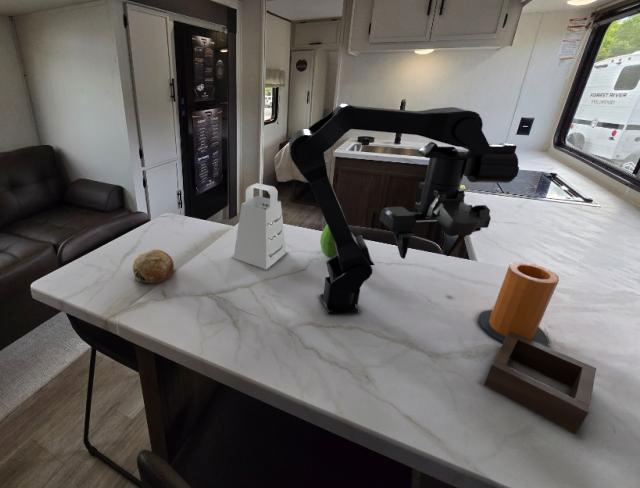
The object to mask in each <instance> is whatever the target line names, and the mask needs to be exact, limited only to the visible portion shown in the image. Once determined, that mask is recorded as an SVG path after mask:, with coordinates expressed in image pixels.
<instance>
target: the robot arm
mask: <svg viewBox="0 0 640 488" xmlns="http://www.w3.org/2000/svg"><path fill="white" fill-rule="evenodd" d="M483 126H484V123H483V119H482V117H481V115H480V114H479V113H478V112H476V111H474V110H468V109H464V108H461V107H460V108H459V107H455V106H448V107H438V108H430V109H425V110H408V109H407V110H406V109H396V108H395V109H394V108H384V107H372V106H362V105H361V106H360V105H351V104H350V103H341V104H338V105H337V106H336V107H335V108H334V109H333V110H332V111H330V112H329V113H328V114H326V115H325V116H323V117H322V118H320V119H318V120H317V121H315V122H314V123H313V124H312V125H310V126H309V127H308V128H307V129H306V128H303V129H300V130H296V132H294V133H292V135H291V137H290V139H289V142H288V148H289V149H288V150H289V156H290V159H291V161H292V163H293V164H294V165H295V167H296V168H297V170H298V172H299V173H300V174H301V175H302V177H303V178H304V179H305V180H306V182H307V183H308V184H309V187H310V188H311V191H312V193H313V196H314V197H315V200H316V202H317V204H318V207H319V209H320V211H321V213H322V216H323V218H324V220H325V222H326V225H328V227H329V230H330V232H331V234H332V236H333V239H334V242H335V248H336V252H337V255H335V256H334V257H333V258H329V259H328V260H327V261H325V264H326V267H327V271H328V276H325V277H324V285H323V293H321V294H320V295H319V298H320V299H321V301H322V303H323V305H324V308H325V309H326V312H327V314H328V315H342V314H344V315H345V314H357V313H359V308H358V307H357V305H358V304H359V298H360V293H361V287H362V286H363V285H364V282H366V281H368V279H370V278H371V276H372V275H373V267H374V266H375V262H374V260H373V258H372V256H371V254H370V252H369V248H368V246H367V244H366V241H365V240H364V238H363V235H362V234H358V235H357V236H356V237H355V236H354V234H353V232H351V229H350V227H349V224H348V221H347V219H346V217H345V214H344V212H343V209H342V207H341V204H340V202H339V200H338V196H337V195H336V192H335V189H334V187H333V185H332V182H331V180H330V177H329V172H328V166H327V160H326V159H327V158H326V155H325V153H326V152H327V151H328V150H330V149H331V148H332V147H333V146H334V145H335V144H337V142H338V141H339V140H340V139H342V137H343V136H344V135H345V134H346V133H348V132H349V131H350V130H358V131H368V132H379V133H388V134H389V133H390V134H401V135H412V136H419V137H423V138H426V139H429V140H432V141H429V142H428V144H426V145H424V146H423V147H421V148H420V149H418V151H417V154H418V155H421V156H422V157H424V158H426V159H428V164H427V169H426V173H425V177H424V181H422V182H421V181H420V182H419V184H418V188H419V189H420V190H422V191H421V195H420V201H419V202H415V203H414V209H416V210H417V211H412V212H410V211H409V210H408V209H406V208H405V207H403V206H384V208H383V209H382V210H381V211H380V214H379V219H378V220H379V221H380V222H381V223H382V224H384V225H385V226H386V227H387V229H389V230H390V231H392V233H393V236H394V239H395V243H396V247H397V250H398V254H399V257H400V258H401V259H404V260H405V259H406V256H407V253H408V249H409V244H410V241H411V240H410V239H411V237H412V236H414V235H415V234H416V231H415V232H414V231H413V230H414V229H415V228H416V226H417V223H438V224H439V226H440V227H441V228H442V231H443V233H444V240H443V241H444V242H443V254H444V256H446V257H450V256H451V254H452V253H453V252H454V250H455V249H456V248H457V247H458V246H459V244H460V243H461V242H462V241H463V240H464V239H465V238H466V236H471V235H472V234H473V233H475V232H481V231H482V229H484V228H487V229H488V228H489V226H490V223H491V219H492V217H491V215H490V213H491V209H490V208H489V207H488V206H487V205H486V204H476V205H475V204H473V203H465V196H466V194H465V192H466V190H463V189H462V188H461V187H462V186H461V185H462V182H463V177H466V179H467V181H468V182H470V183H481V184H482V183H485V184H509V183H511V182H513V181H514V180H515V178H516V177H517V175H518V173H519V171H520V166H519V158H518V155H517V153H516V150H517V147H518V146H517V145H515V144H513V143H509V142H501V143H489V141H488V139H487V138H486V135H485V134H484V132H483ZM434 141H436V142H439V143H443V144H446V145H450V146H439V145H438V144H437V143H435V142H434ZM457 147H458V148H463V149H465V150H467V151H458V149H457ZM372 266H373V267H372Z"/></svg>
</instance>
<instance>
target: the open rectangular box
mask: <svg viewBox="0 0 640 488" xmlns="http://www.w3.org/2000/svg"><path fill="white" fill-rule="evenodd" d="M510 360H511V361H514V362H516V363H517V364H520V365H521V366H524V367H526V368H528V369H530V370H531V371H534V372H536V373H538V374H540V375H542V376H545V377H548V378H549V379H552V380H553V381H555V382H558V383H560V384H561V385H564V386H566V387H568V388H570V391H569V395H568V394H565V393H563V392H562V391H559V390H557V389H555V388H553V387H551V386H549V385H547V384H545V383H543V382H541V381H539V380H538V379H537V380H536V379H534V378H533V377H531V376H529V375H526V374H525V373H523V372H521V371H518V370H516V369H514V368H513V367H510V366H508V364H509V361H510ZM488 370H489V371H488V373H487V376H486V378H485V380H484V383H483V385H484V386H485V387H487V388H489V389H491V390H493V391H494V392H496V393H498V394H500V395H502V396H504V397H506V398H508V399H509V400H511V401H513V402H515V403H517V404H518V405H520V406H522V407H524V408H526V409H528V410H530V411H532V412H534V413H535V414H537V415H539V416H540V417H543V418H544V419H546V420H548V421H550V422H552V423H554V424H555V425H558V427H561V428H563V429H564V430H566V431H568V432H571V433H572V434H574V435H576V434H577V433H578V432H579V430H580V428H581V426H582V425H583V424H584V421H585V420H586V418H587V416H588V415H589V413H590V407H591V402H592V396H593V391H594V385H595V378H596V373H597V367H594V366H593V365H591V364H588V363H586V362H584V361H581V360H578V359H577V358H574V357H572V356H569V355H567V354H565V353H563V352H560V351H557V350H556V349H553V348H551V347H549V346H547V345H546V346H544V345H541V344H539V343H537V342H534V341H532V340H530V339H527V338H525V337H523V336H520V335H518V334H516V333H513V332H511V331H509V333H508V335H507V337H506V338H505V340H504V342H503V343H501V346H500V348H499V350H498V351H497V353H496V355H495V357H494V359H493V361H492V363H491V365H490V368H489V369H488Z"/></svg>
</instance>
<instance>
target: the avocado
mask: <svg viewBox="0 0 640 488" xmlns="http://www.w3.org/2000/svg"><path fill="white" fill-rule="evenodd" d="M319 243H320V248H321V252H322V254H323V255H324V256H325V257H327V258H328V259H331V258H333V257H334V256H335V255H337V252H336V248H335V242H334V239H333V236H332V234H331V232H330V230H329V227H328V225H327V224H326V225H325V227H324V229H323V230H322V233H321V235H320V241H319Z"/></svg>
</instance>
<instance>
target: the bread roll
mask: <svg viewBox="0 0 640 488" xmlns="http://www.w3.org/2000/svg"><path fill="white" fill-rule="evenodd" d="M173 271H174V261H173V258H172V256H170V255H169V253H167V252H166V251H164V250H162V249H151V250H149V251H145V252H142V253H139V254H138V255H137V256H136V257H135V259H134V261H133V263H132V272H133V276H134V277H135V278H136V281H137V282H141V283H146V284H148V283H149V284H159V283H162V282H164V281H167V280H168V279H169V278H170V277H171V275H172V274H173Z"/></svg>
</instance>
